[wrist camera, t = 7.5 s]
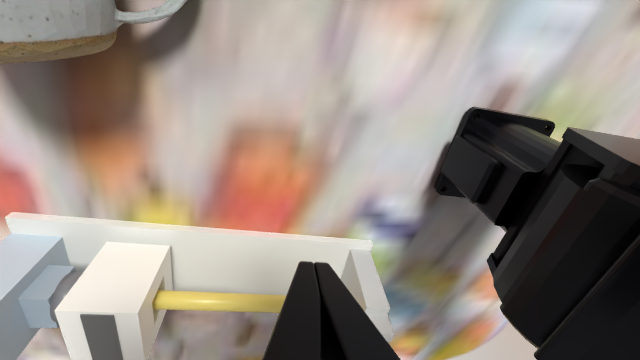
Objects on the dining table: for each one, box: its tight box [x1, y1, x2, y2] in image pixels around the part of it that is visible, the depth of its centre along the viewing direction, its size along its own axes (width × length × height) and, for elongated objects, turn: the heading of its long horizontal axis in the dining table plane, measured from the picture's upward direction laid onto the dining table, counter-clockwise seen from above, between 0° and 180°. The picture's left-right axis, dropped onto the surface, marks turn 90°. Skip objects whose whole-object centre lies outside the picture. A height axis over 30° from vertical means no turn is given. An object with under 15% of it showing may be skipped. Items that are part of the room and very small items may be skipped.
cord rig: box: [0, 212, 394, 360], centre depth 20 cm, size 25×7×7 cm, turn 79°
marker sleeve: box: [55, 242, 173, 360], centre depth 19 cm, size 4×5×6 cm
